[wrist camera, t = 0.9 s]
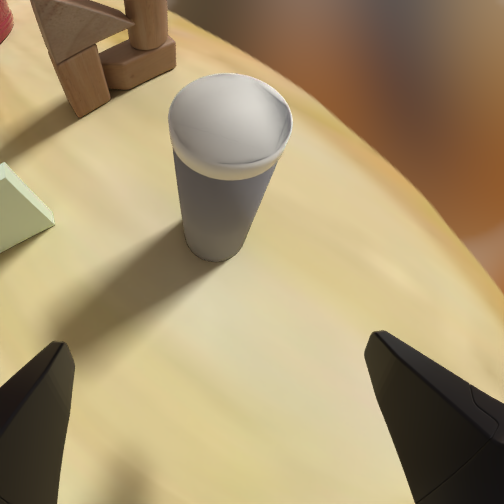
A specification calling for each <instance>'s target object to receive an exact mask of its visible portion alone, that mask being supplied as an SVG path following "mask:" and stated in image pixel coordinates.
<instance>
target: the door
mask: <svg viewBox="0 0 504 504" xmlns="http://www.w3.org/2000/svg"><path fill="white" fill-rule="evenodd" d="M54 225H55V222H54V217H53V212H52V211H51V210H50V209H49V208H48V207H47V206H46V205H45V204H44V203H43V202H42V201H41V200H40V199H39V198H38V197H37V196H36V195H35V194H34V193H33V192H32V191H31V190H30V189H29V188H28V186H27V185H26V184H25V183H24V182H23V181H22V180H21V179H20V178H19V177H18V176H17V175H16V174H15V173H14V171H13V170H12V169H11V168H10V167H9V166H8V165H7V164H6V163H5V162H3V163H1V164H0V253H1V252H3V251H5V250H7V249H9V248H11V247H13V246H14V245H16V244H18V243H20V242H22V241H24V240H26V239H28V238H30V237H32V236H34V235H36V234H38V233H40V232H42V231H44V230H46V229H48V228H50V227H52V226H54Z"/></svg>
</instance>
